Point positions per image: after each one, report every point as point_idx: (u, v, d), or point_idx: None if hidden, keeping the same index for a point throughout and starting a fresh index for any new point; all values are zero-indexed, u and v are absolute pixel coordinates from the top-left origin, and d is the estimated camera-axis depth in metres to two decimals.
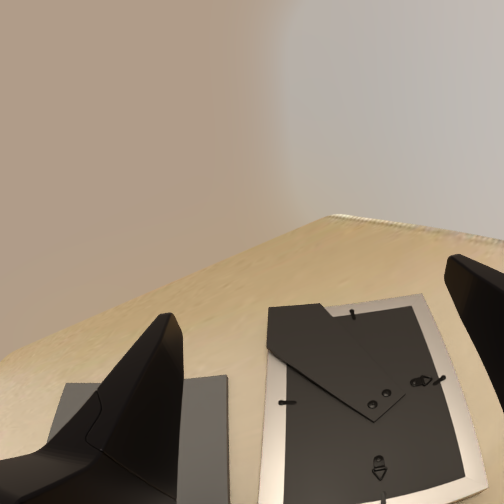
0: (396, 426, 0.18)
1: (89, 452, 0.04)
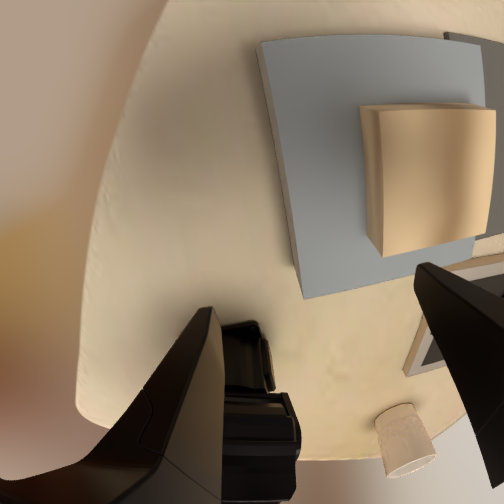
0: None
1: (147, 457, 0.04)
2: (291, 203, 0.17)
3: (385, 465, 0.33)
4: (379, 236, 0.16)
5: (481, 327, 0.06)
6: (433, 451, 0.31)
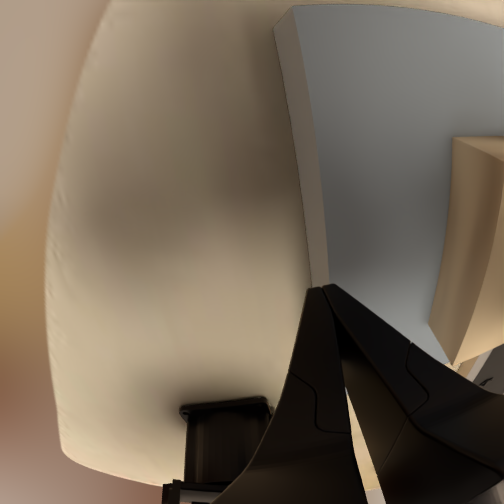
0: (499, 382, 0.23)
1: (336, 439, 0.04)
2: None
3: None
4: (453, 339, 0.10)
5: (365, 366, 0.06)
6: None
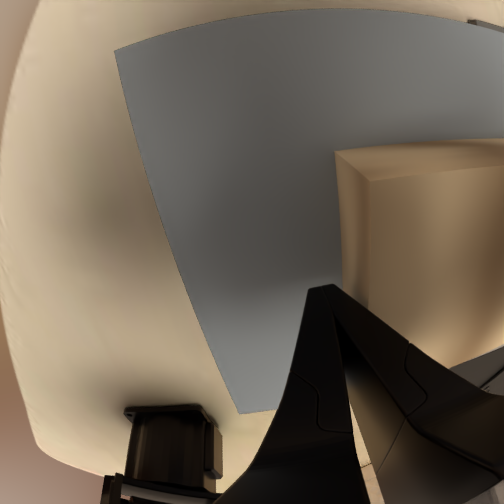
0: None
1: (338, 439, 0.04)
2: (199, 318, 0.11)
3: None
4: None
5: (363, 366, 0.06)
6: None
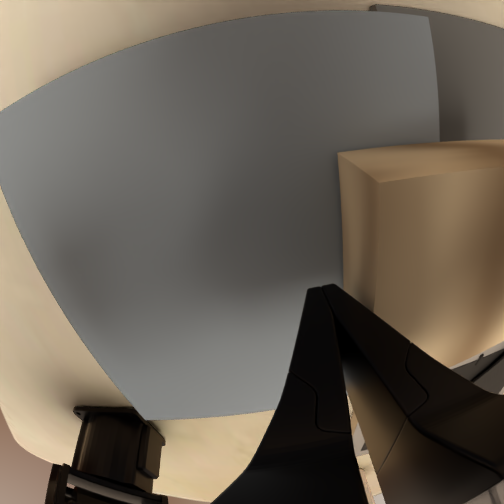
0: None
1: (336, 439, 0.04)
2: (78, 333, 0.11)
3: None
4: None
5: (364, 366, 0.06)
6: None
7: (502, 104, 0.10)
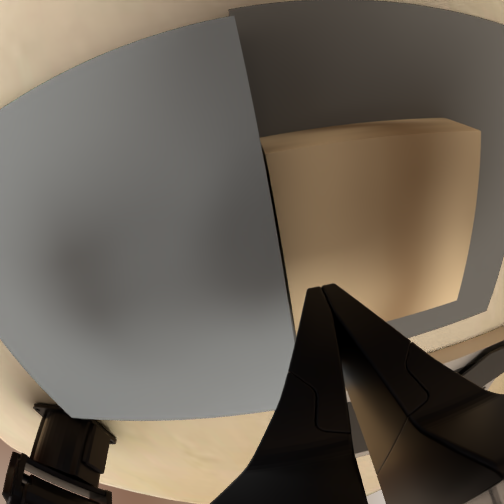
0: None
1: (336, 439, 0.04)
2: (1, 339, 0.11)
3: None
4: (292, 316, 0.13)
5: (365, 366, 0.06)
6: None
7: (419, 97, 0.10)
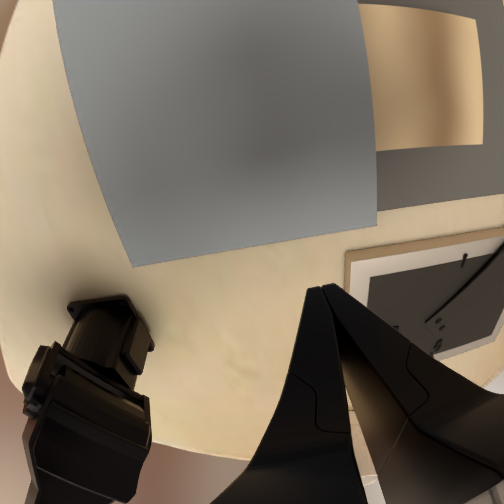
0: (415, 335, 0.26)
1: (336, 439, 0.04)
2: (89, 152, 0.14)
3: None
4: None
5: (365, 366, 0.06)
6: (373, 471, 0.28)
7: (434, 5, 0.12)
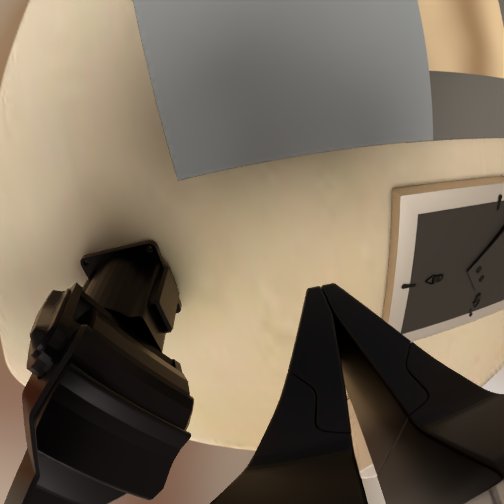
0: (457, 286, 0.24)
1: (336, 439, 0.04)
2: (144, 47, 0.12)
3: None
4: None
5: (365, 366, 0.06)
6: None
7: None
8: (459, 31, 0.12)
